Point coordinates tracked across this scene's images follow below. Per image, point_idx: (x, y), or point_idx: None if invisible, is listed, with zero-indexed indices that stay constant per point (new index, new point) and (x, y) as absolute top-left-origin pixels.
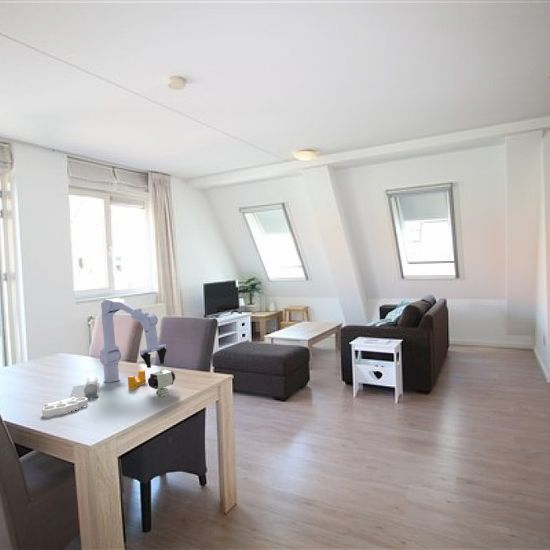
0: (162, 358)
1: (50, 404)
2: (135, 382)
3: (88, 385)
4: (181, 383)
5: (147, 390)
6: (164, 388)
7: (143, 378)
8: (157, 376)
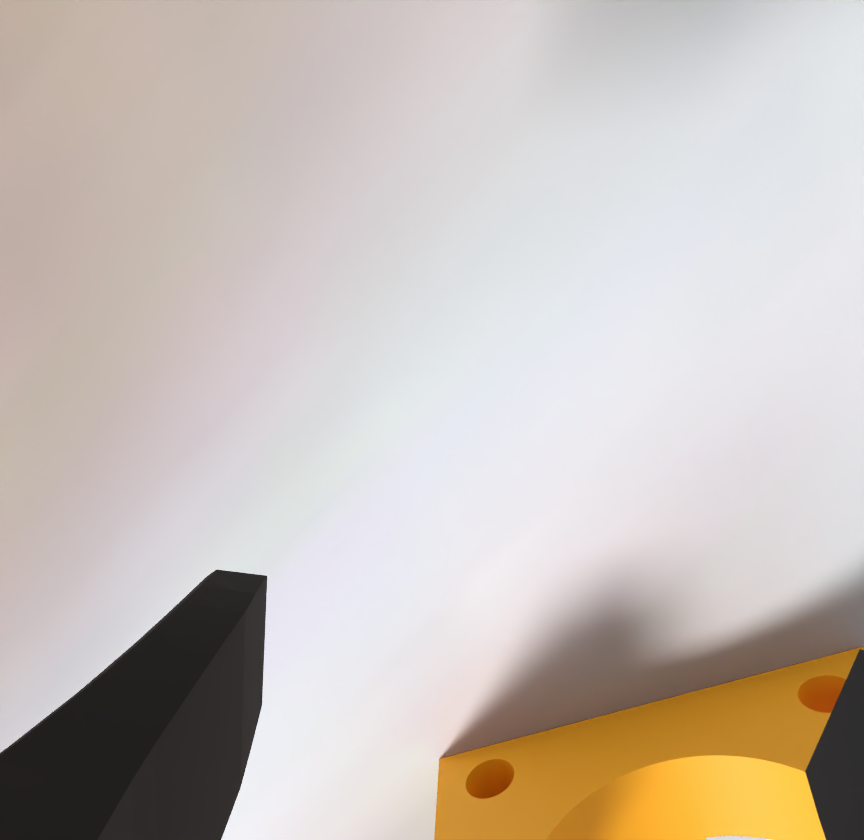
0: (171, 748)
1: None
2: None
3: None
4: (151, 31)
5: (814, 374)
6: None
7: (506, 812)
8: None
